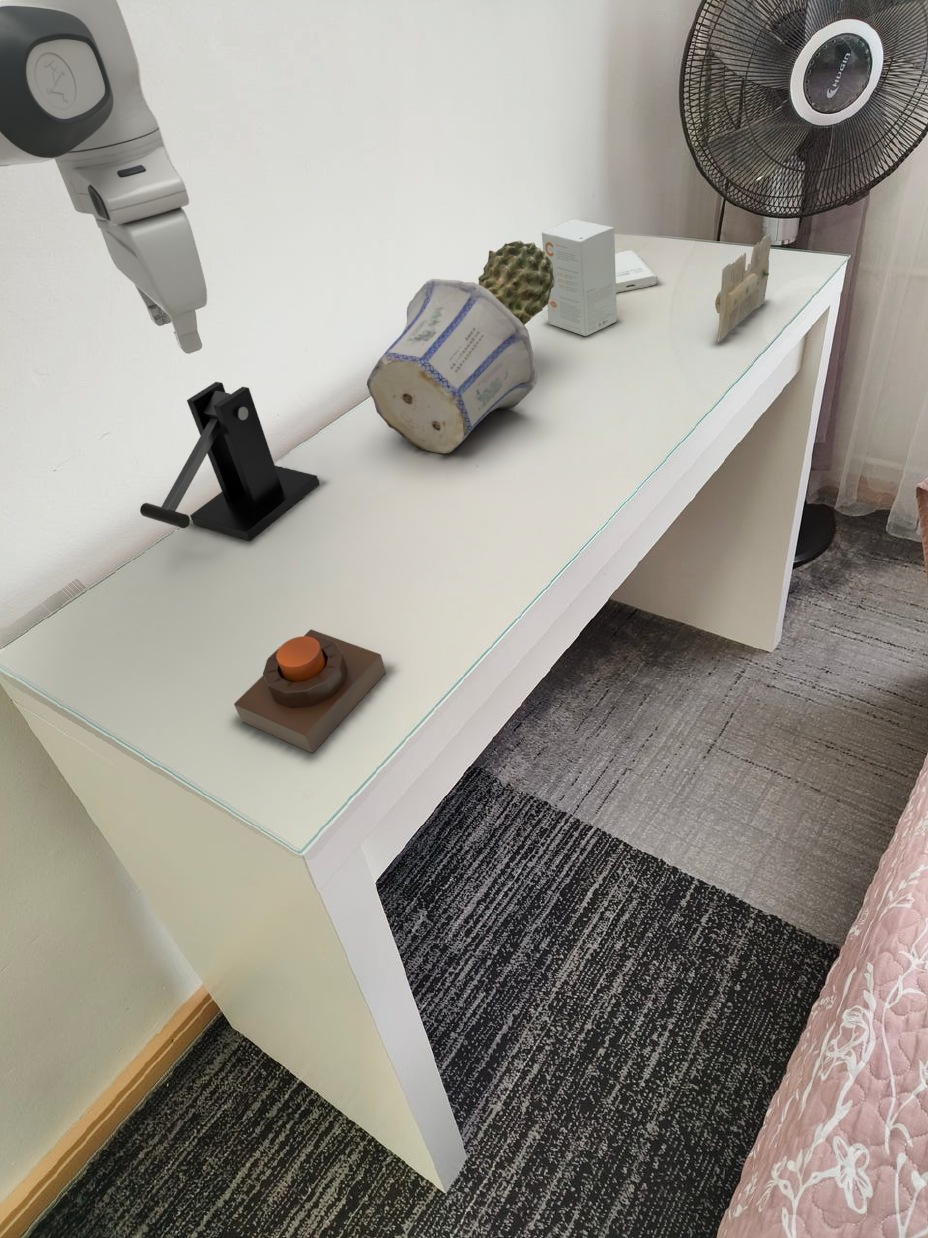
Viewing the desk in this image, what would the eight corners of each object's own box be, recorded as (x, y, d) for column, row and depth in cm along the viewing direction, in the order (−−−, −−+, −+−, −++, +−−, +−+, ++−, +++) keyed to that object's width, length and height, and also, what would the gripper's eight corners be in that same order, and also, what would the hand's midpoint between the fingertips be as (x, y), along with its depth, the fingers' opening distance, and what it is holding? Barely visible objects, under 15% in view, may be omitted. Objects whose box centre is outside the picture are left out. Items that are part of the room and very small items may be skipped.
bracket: (249, 541, 92) (206, 427, 83) (193, 524, 96) (146, 414, 87) (319, 484, 99) (286, 373, 90) (264, 470, 103) (227, 363, 94)
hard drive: (633, 259, 139) (657, 284, 129) (584, 269, 139) (604, 295, 129) (633, 249, 138) (657, 274, 128) (584, 258, 137) (604, 284, 128)
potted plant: (457, 360, 85) (585, 190, 97) (326, 347, 94) (458, 194, 106) (505, 484, 98) (612, 321, 110) (385, 462, 107) (497, 314, 120)
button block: (312, 754, 67) (299, 720, 65) (241, 721, 71) (226, 688, 69) (386, 672, 73) (376, 638, 71) (316, 646, 77) (305, 613, 75)
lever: (188, 533, 86) (173, 522, 84) (150, 520, 89) (134, 509, 87) (256, 408, 90) (242, 395, 88) (216, 401, 92) (202, 387, 90)
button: (306, 687, 68) (300, 671, 67) (273, 674, 70) (267, 658, 69) (333, 658, 70) (328, 643, 69) (301, 646, 72) (296, 631, 71)
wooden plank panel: (754, 301, 120) (760, 227, 113) (771, 303, 119) (778, 228, 112) (710, 344, 112) (714, 267, 105) (727, 347, 110) (732, 269, 104)
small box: (618, 322, 121) (615, 226, 113) (585, 337, 119) (580, 241, 110) (579, 309, 126) (574, 217, 118) (547, 324, 124) (540, 231, 116)
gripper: (59, 169, 77) (118, 317, 86) (110, 206, 63) (175, 379, 72) (126, 152, 79) (177, 298, 88) (190, 184, 65) (244, 355, 74)
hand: (177, 335), depth 80 cm, fingers open, 8 cm apart
